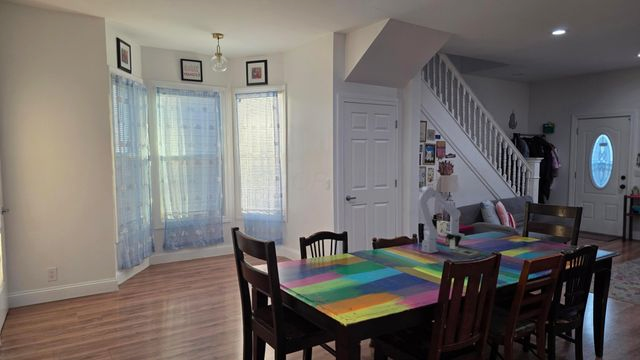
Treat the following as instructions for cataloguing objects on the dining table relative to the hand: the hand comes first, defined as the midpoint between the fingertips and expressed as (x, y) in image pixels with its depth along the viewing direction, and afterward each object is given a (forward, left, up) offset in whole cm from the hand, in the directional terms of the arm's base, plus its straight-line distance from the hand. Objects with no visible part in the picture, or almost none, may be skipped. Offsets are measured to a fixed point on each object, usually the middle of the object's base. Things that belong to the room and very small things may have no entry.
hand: (453, 245), depth 283 cm
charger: (0, 0, -2) cm, 2 cm away
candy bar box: (+11, +16, -3) cm, 20 cm away
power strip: (-5, -12, -3) cm, 13 cm away
